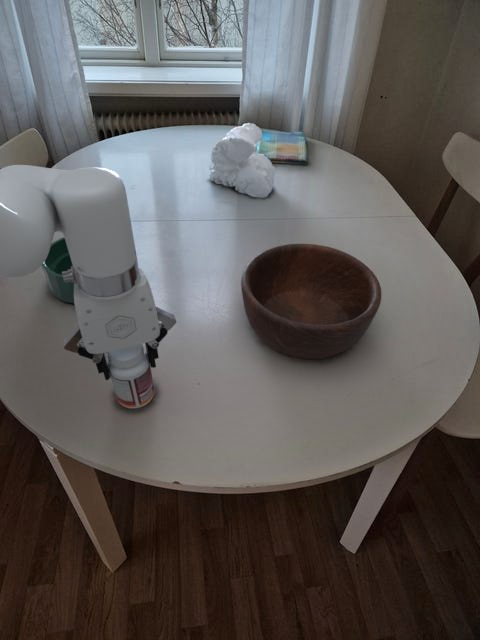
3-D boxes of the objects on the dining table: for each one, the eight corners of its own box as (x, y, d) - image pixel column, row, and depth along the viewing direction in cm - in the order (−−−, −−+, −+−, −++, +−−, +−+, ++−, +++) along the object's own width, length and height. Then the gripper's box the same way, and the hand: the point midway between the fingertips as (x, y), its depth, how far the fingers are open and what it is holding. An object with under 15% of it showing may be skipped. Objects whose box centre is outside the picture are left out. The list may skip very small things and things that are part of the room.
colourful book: (304, 138, 155) (305, 131, 153) (308, 165, 137) (309, 157, 136) (257, 136, 155) (257, 128, 153) (255, 162, 138) (255, 155, 136)
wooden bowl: (263, 384, 72) (267, 342, 65) (225, 293, 90) (225, 251, 83) (393, 356, 78) (410, 314, 71) (334, 275, 95) (343, 235, 88)
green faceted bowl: (53, 313, 84) (43, 285, 79) (48, 266, 95) (38, 239, 90) (136, 295, 88) (131, 267, 84) (122, 253, 99) (117, 226, 94)
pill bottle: (152, 376, 73) (144, 329, 65) (156, 406, 69) (148, 358, 61) (115, 383, 72) (102, 335, 64) (117, 413, 67) (103, 366, 60)
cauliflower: (288, 175, 111) (226, 125, 107) (245, 228, 123) (188, 185, 119) (298, 151, 125) (243, 106, 121) (258, 201, 138) (208, 161, 133)
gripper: (34, 306, 48) (73, 402, 60) (183, 275, 53) (191, 369, 65) (32, 268, 53) (68, 364, 65) (168, 243, 58) (178, 336, 70)
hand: (129, 366), depth 65 cm, fingers closed on pill bottle, 6 cm apart
